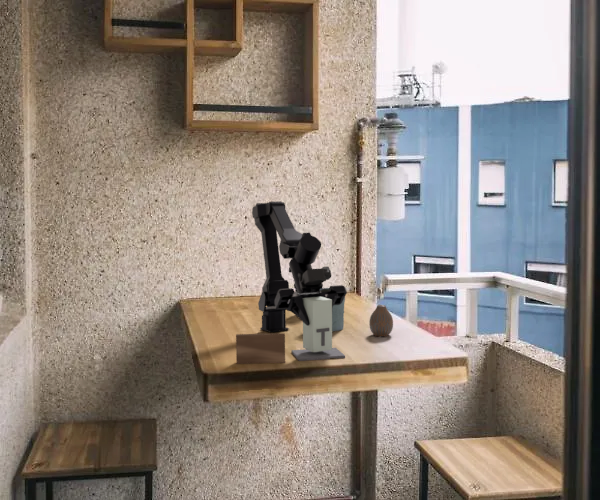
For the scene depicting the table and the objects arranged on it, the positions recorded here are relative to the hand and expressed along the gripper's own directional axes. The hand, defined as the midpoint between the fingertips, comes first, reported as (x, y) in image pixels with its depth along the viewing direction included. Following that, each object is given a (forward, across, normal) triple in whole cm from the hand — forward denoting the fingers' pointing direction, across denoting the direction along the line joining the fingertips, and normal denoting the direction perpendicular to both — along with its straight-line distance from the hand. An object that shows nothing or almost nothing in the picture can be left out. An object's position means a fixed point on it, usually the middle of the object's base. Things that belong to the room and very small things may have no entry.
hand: (319, 323), depth 172 cm
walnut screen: (+6, -16, +6) cm, 18 cm away
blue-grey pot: (-16, +16, +28) cm, 36 cm away
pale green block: (+4, 0, +6) cm, 7 cm away
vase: (-5, +26, +18) cm, 32 cm away
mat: (+5, 0, +7) cm, 8 cm away
